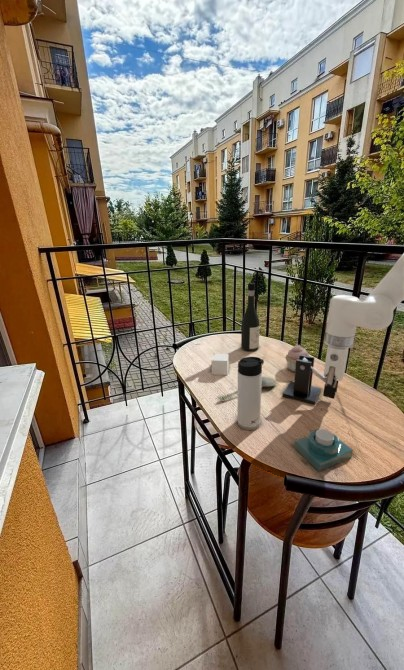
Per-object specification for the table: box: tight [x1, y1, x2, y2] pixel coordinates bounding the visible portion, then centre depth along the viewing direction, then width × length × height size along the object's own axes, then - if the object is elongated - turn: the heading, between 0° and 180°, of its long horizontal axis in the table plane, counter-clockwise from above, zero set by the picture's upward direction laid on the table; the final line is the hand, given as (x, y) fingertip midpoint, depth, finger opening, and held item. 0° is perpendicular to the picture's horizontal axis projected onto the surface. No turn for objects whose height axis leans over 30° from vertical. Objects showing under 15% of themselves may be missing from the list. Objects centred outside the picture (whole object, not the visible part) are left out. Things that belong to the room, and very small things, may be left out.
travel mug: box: [237, 356, 265, 431], centre depth 76 cm, size 6×7×20 cm
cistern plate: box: [294, 429, 354, 472], centre depth 67 cm, size 10×8×4 cm
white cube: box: [210, 353, 230, 376], centre depth 108 cm, size 6×6×6 cm
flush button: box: [315, 428, 335, 446], centre depth 66 cm, size 4×4×2 cm
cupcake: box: [284, 344, 310, 373], centre depth 107 cm, size 9×9×10 cm
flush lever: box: [302, 357, 339, 390], centre depth 87 cm, size 13×3×3 cm
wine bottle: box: [240, 282, 261, 352], centre depth 124 cm, size 8×8×30 cm
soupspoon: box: [219, 376, 276, 402], centre depth 94 cm, size 22×3×7 cm
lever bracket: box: [282, 355, 322, 406], centre depth 90 cm, size 10×9×13 cm
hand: (329, 393), depth 87 cm, fingers closed on flush lever, 3 cm apart
